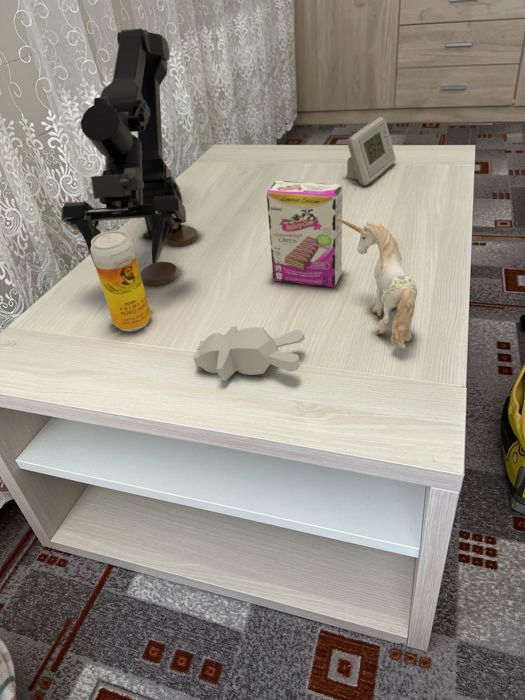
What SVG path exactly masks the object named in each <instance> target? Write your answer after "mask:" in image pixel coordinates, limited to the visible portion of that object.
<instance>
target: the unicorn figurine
mask: <svg viewBox="0 0 525 700" xmlns="http://www.w3.org/2000/svg"><path fill="white" fill-rule="evenodd" d="M336 219H337V220H338V221H340V222H342V225H345V226H347V227H348V228H351V229H352V230H353V231H356V232H357V233H359V234H360V235H359V241H358V245H357V248H356V250H357V252H358V253H359V255H366V254H367V253H368V249H369V248H370V247H371V246H373V245H375V244H376V245H377V247H378V251H379V258H378V261H377V262H376V265H375V267H374V272H373V274H374V279H375V284H376V288H377V289H376V293H375V295H376V303H375V305H374V306H373V307H372V310H371V311H372V313H373V314H377V316H379V317H381V315H382V313H383V318H382V319H380V320H379V322H378V326H377V328H376V334H377V335H379V334H380V335H384V334H386V329H387V326H388V325H387V324H388V323H390V321H391V313H392V311H393V309H396V313H395V316H394V317H393V319H392V325H391V338H390V342H391V345H394V344H395V343H396V345H397V346H398V347H400V349H406V345H405V342H409V341H410V340H411V339H412V334H411V325H412V321H413V320H412V319H413V317H414V314H415V307H416V300H417V296H418V287H417V284H416V282H415V281H414V279H413V278H412V277H410V276H409V275H408V272H407V271H406V270H405V268H404V267H403V265H402V262H401V261H402V259H403V257H402V254H401V252H400V247H399V244H398V241H397V239H396V238H395V237H394V236H393V234H392V233H391V232H390V231H389V229H387V228H386V226H385V225H383V224H381V223H374V222H370V221H369V220H367V221H366V224H362V226H363V227H360V226H357V225H356V224H353V223H350V222H349V221H347V220H345V219H343V218H342V219H340V218H336ZM382 299H383V301H382ZM383 303H384V304H383Z"/></svg>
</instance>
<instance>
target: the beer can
mask: <svg viewBox="0 0 525 700" xmlns="http://www.w3.org/2000/svg"><path fill="white" fill-rule="evenodd" d="M90 251H91V254H92V257H93V260H94V263H95V265H94V267H95V270H96V273H97V276H98V279H99V282H100V285H101V289H102V291H103V295H104V298H105V301H106V304H107V307H108V311H109V313H110V317H111V320H112V323H113V325H114V326H115V327H116V328H118V329H119V330H121V331H122V332H135V331H139V330H142V328H145V326H147V325H148V323H149V321H150V319H151V317H152V312H151V308H150V305H149V301H148V298H147V294H146V290H145V286H144V282H143V280H142V276H141V271H140V266H139V263H138V259H137V255H136V251H135V247H134V244H133V240H132V239H131V238H130V237H129V235H128V233H127V232H125V231H123V230H108V231H104V232H100V234H99V235H97V236H95V237H94V238H93V239H92V241H91V249H90ZM91 254H90V255H91ZM92 257H91V258H92ZM93 260H92V261H93ZM94 263H93V264H94Z"/></svg>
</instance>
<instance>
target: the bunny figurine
mask: <svg viewBox="0 0 525 700" xmlns="http://www.w3.org/2000/svg"><path fill="white" fill-rule="evenodd" d="M304 340H305V334H304V332H303V331H302V330H299V329H297V330H293V331H290V332H288V333H284V334H282V335H279V336H276V337H274V338H273V336H271V335H270V334H269V333H268V331H266V330H265V328H264V327H258V326H257V327H256V326H254V327H245V328H241V329H240V330H238V327H237V325H234V326H231V327H229V330H228V331H227V332H226V334H224V335H223V334H221V333H219V332H215V333H211V334H210V335H208V336H207V337H206V338H205V340H204V341H203V340H201V341H200V342H199V343H198V346H197V351H195V354H194V356H193V358H192V359H193V362H194V364H195V366H196V368H201V369H203V370H204V371H206V372H207V373H211V374H212V375H213V374H217V375H218V378H219V381H227V380H228V379H229V378H230V377H231V376H233V375H234V374H235V373H236V372H238V373H240V374H242V375H248V376H255V375H256V376H257V375H263V374H264V373H265V372H266V371H267V370H268V368H269V367H270V366H271V365H272V366H274V367H277V368H279V369H282V370H284V371H287V372H292V373H293V372H295V371H298V369H299V368H300V367H301V365H300V363H301V362H300V356H299V355H298V354H296V353H291V352H286V351H279V348H280V347H284V346H289V345H294V344H298V343H302V342H303V341H304Z"/></svg>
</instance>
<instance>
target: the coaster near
mask: <svg viewBox="0 0 525 700" xmlns="http://www.w3.org/2000/svg"><path fill="white" fill-rule="evenodd" d="M140 274H141V278H142V282H143V284H145V285H147V286H154V287H157V286H163V285H167V284H170V283H171V282H173V281H174V280H176V278H177V277H178V269H177V266H176V264H175V263H172V262H170V261H157V264H156V265H154V264H153V263H151V264H149V265H147V266H145V267H144V268H143V269H142V270H141V271H140Z"/></svg>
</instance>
